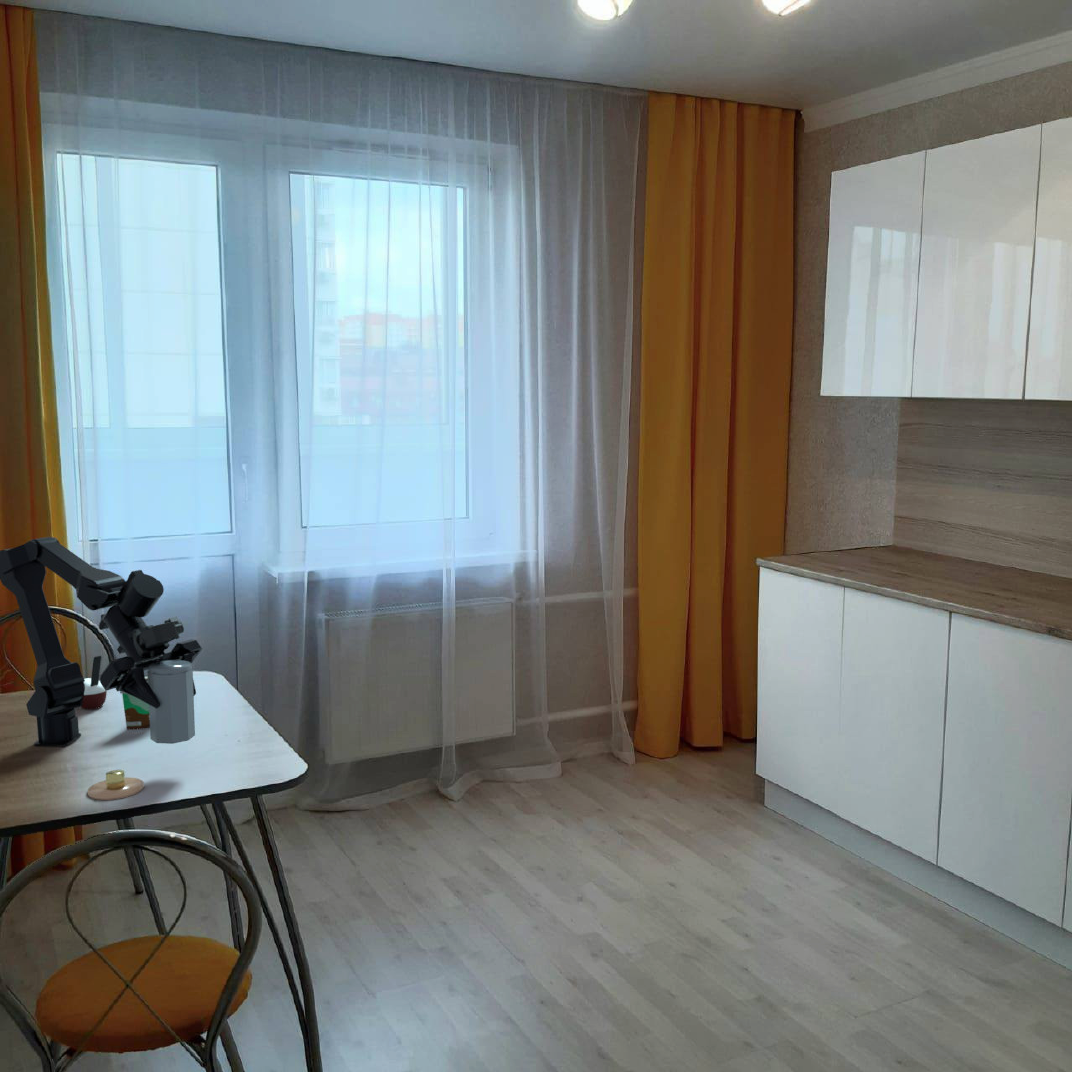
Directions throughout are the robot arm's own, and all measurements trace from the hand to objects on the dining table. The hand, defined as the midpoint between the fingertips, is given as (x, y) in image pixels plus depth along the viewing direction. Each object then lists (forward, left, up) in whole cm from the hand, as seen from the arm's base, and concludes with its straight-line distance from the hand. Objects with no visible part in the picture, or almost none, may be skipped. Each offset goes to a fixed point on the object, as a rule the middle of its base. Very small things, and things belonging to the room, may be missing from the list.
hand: (176, 700), depth 189 cm
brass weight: (-8, -8, -13) cm, 18 cm away
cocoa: (-35, +38, -14) cm, 53 cm away
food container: (-17, +28, -14) cm, 35 cm away
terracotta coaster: (-8, -8, -13) cm, 18 cm away
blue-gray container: (-1, +1, -7) cm, 7 cm away
